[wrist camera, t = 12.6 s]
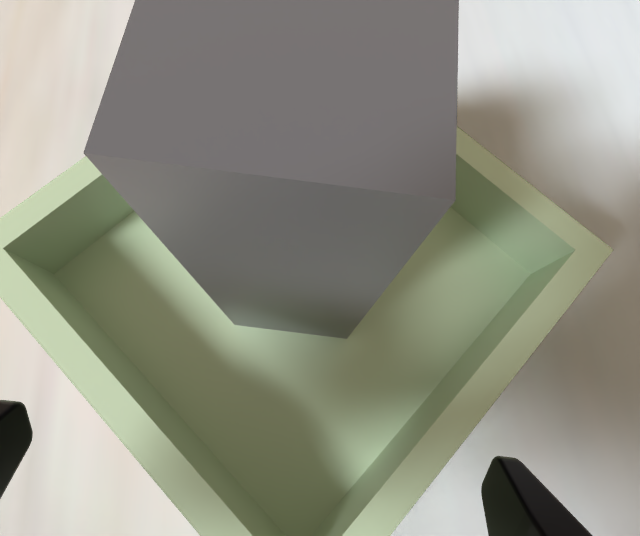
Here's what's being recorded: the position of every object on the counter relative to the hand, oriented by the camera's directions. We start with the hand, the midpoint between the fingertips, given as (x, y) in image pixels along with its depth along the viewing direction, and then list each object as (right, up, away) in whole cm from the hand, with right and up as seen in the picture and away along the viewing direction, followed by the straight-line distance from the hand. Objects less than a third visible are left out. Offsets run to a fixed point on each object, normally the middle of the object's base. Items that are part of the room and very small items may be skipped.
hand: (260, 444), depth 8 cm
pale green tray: (0, +3, +10) cm, 10 cm away
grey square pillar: (0, +3, +9) cm, 10 cm away
